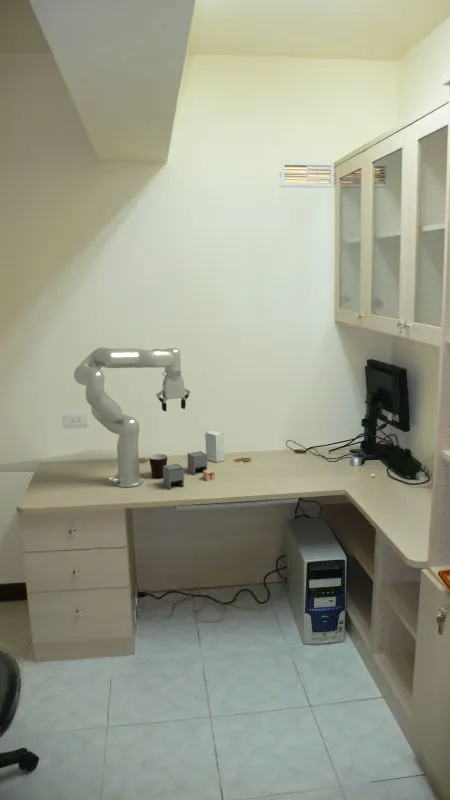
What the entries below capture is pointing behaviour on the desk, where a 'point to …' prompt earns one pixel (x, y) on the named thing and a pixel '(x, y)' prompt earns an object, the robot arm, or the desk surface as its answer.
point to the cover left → (173, 475)
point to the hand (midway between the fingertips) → (173, 409)
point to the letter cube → (208, 475)
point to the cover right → (197, 461)
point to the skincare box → (215, 446)
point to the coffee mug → (157, 465)
